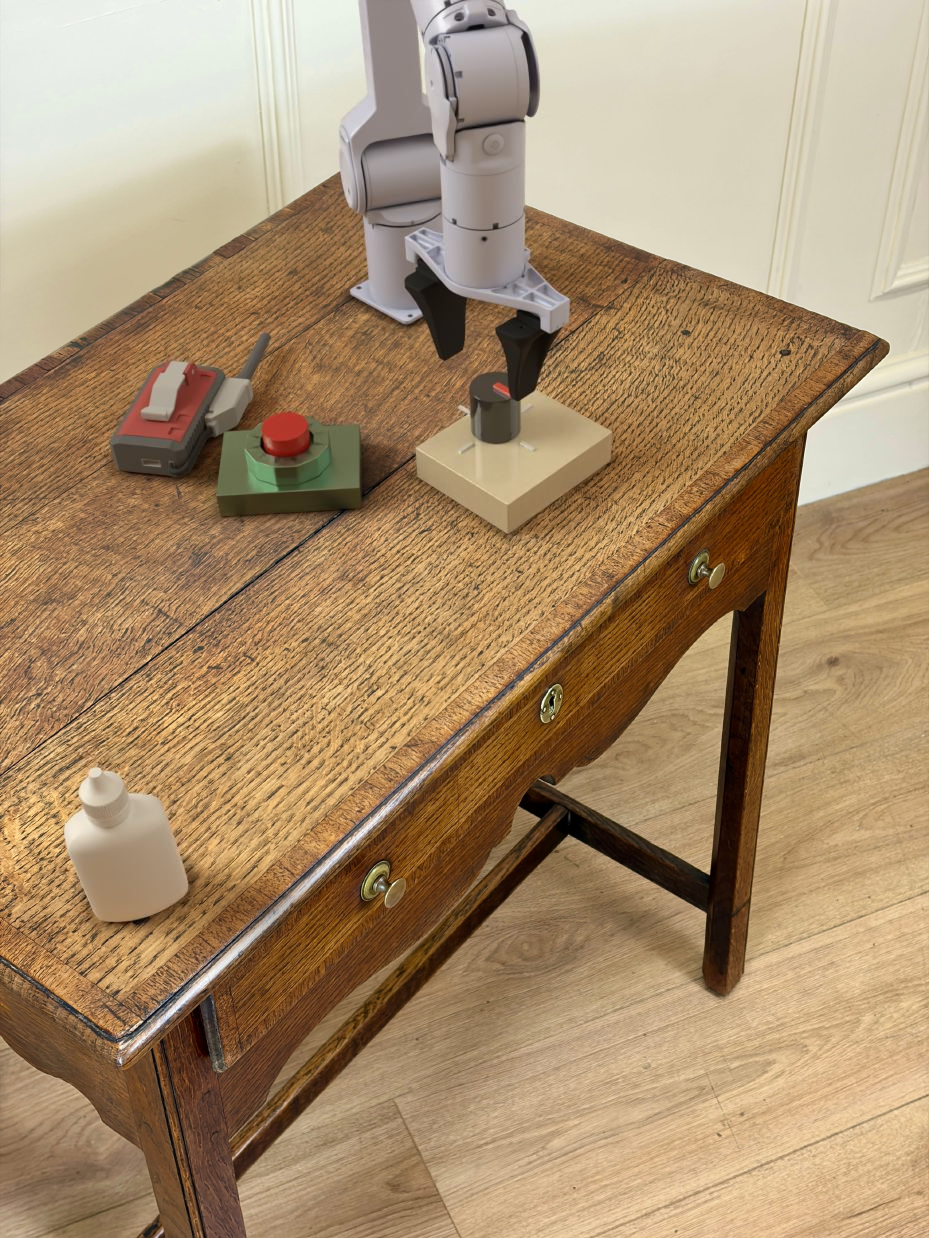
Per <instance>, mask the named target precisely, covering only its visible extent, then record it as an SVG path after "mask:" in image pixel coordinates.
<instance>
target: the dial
mask: <svg viewBox="0 0 929 1238" xmlns="http://www.w3.org/2000/svg"><path fill="white" fill-rule="evenodd" d="M468 391H469V392H468V393H469V394H468V395H469V410H470V426H471V432H472V434H473V435H474V436H475V437H476V438H477V439H479V440H480V441H483V442H486V443H493V444H498V443H505V442H508V441H510V440H512V439H514V438H515V437H517V436H518V434H519V433H520V431H521V400H520V401H515V400H513V399H512V398H511V397H510V393H509V389H508V374H507V372H503V371H488V372H483V373H481V374H479V375H477V376H475V377H474V378H473V379H472V380H471V381H470V383H469V387H468Z"/></svg>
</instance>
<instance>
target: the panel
mask: <svg viewBox="0 0 929 1238" xmlns="http://www.w3.org/2000/svg"><path fill="white" fill-rule="evenodd" d="M457 410H460V411H461V412H463V413H465V415H464V416H462V417H461V418H459V419H458V420H456V421H455V422H453V423H451V424H450V425H448V426H447V427H446V428H444V429H442V430H441V431H439V432H438V433H435V434H434V435H433V436H431V437H430V438H428V439H426V440H424V441H423V442H421V443H420V444H418V445H417V446H416V447H415V449H414V450H415V462H416V464H415V465H416V476H417V478H418V479H420V480H421V481H423V482H424V483H426V484H428V485H430V486H431V487H432V488H434V489H436V490H437V491H439V492H440V493H442V494H444V495H445V496H447V497H448V498H450V499H452V500H453V501H455V502H456V503H458V504H460V505H461V506H462V507H464V508H466V509H467V510H469V511H470V512H472V513H473V514H475V515H477V516H478V517H480V518H481V519H483V520H484V521H486V522H488V523H489V524H491V525H493V526H494V527H495V528H498V529H499V530H500V531H502V532H504V533H505V534H507V535H509V534H510V533H512V532H513V531H515V530H516V529H518V528H520V526H522V525H523V524H525V523H526V522H527V521H528V520H530V519H531V518H533V517H534V516H536V515H538V513H540V512H541V511H543V510H545V508H547V507H548V506H550V505H552V504H553V503H554V502H555V501H557V500H559V498H561V497H562V496H564V495H565V494H566V493H568V492H570V491H571V490H572V489H574V488H575V487H576V486H577V485H580V483H581V482H583V481H585V480H586V479H588V478H589V477H590V476H592V475H593V474H595V473H596V472H598V471H599V470H600V469H602V468H604V466H605V465H607V464H608V463H610V462H611V458H612V444H613V430H610V429H609V428H607V427H605V426H603V425H602V424H601V423H598V422H597V421H595V420H593V419H590V418H589V417H587V416H585V415H583V414H581V413H580V412H578V411H576V410H574V409H572V408H570V407H569V406H567V405H565V404H563V403H562V402H560V401H557V400H556V399H555V398H552V397H551V396H548V395H547V394H544V393H543V392H541V391H539V390H537V388H536V389H535V391H534V392H532V393H531V394H529V395H528V396H526V397H525V398H523V399H522V400H521V431H520V433H519V434H518V436H517V437H515V438H514V439H512V440H510V441H508V442H505V443H498V444H493V443H486V442H483V441H480V440H479V439H477V438H476V437H475V436H474V435H473V434H472V432H471V426H470V408H467V407H465V406H464V405H462V404H460V405H458V406H457Z"/></svg>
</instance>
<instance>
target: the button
mask: <svg viewBox="0 0 929 1238" xmlns="http://www.w3.org/2000/svg"><path fill="white" fill-rule="evenodd" d="M303 416H304V415H302V414H299V413H298V412H297V413H296V412H290V411H287V412H286V411H285V412H279V413H275V414H272V415H271V416H269V417H268V418H266V419H265V420H264V421H263V422H264V423H263V424H262V428H261V430H262V436H263V442H264V447H265V450H266V451H267V453H268V454H270V455H272V456H275V457H278V458H281V457H294V456H297V455H299V454H302V453H304V452H305V451H306V450H307V449H308V448H309V446H310V443H311V441H310V434H309V427H308V422H307V420H306V419H305V418H304V417H303Z"/></svg>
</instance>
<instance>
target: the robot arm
mask: <svg viewBox="0 0 929 1238" xmlns="http://www.w3.org/2000/svg"><path fill="white" fill-rule="evenodd" d="M357 3H358V13H359V23H360V32H361V33H360V34H361V43H362V52H363V54H362V55H363V62H364V70H365V71H364V72H365V73H364V74H365V81H366V82H365V83H366V92H367V93H366V94H365V96H363V98H362V99H361V100H360V101H358V103H356V105H354V106H353V107H352V109H350V110H349V111H348V112H347V113H346V114H345V115H344V116H343V117H342V118H341V119H340V120H339V127H338V137H339V138H338V139H339V148H338V149H339V150H338V164H339V172H340V178H341V183H342V188H343V193H344V196H345V199H346V203H347V205H348V207H349V208H350V209H351V210H352V211H353V212H354V213H356V214H357V215H362V221H363V232H364V243H365V254H366V265H367V275H368V279H366V280H364V281H362V282H361V283H359V284H357V285H356V286H353V287H351V288H350V290H349V294H350V296H352V297H354V298H356V299H358V300H359V301H361V302H363V303H365V304H367V305H368V306H370V307H372V308H374V309H376V310H377V311H379V312H381V313H383V314H385V315H386V316H389V317H390V318H392V319H393V320H396V321H397V322H399V323H401V324H403V325H410V324H412V323H414V322H415V321H417V320H419V319H421V318H422V317H423V318H424V320H425V323H426V325H427V329H428V330H429V333H430V336H431V339H432V342H433V345H434V347H435V351H436V353H437V356H438V358H439V359H440V360H442V361H444V362H446V361H448V360H450V359H451V358H453V357H455V356H456V355H458V354H459V353H461V352H463V351H464V347H465V342H466V323H467V322H466V319H467V317H466V315H467V314H466V311H467V302H468V299H472V300H477V301H481V302H486V303H490V304H495V305H499V306H503V307H508V308H511V309H515V310H516V313H515V314H516V316H512V317H511V318H509V319H507V320H506V321H504V322H502V323H501V324H499V325H498V326H496V327H495V329H494V333H495V335H496V336H497V338H498V340H499V342H500V345H501V347H502V350H503V354H504V358H505V363H506V369H507V371H506V373H507V374H508V389H509V393H510V397H511V398H512V399H513V400H515V401H520V400H522V399H523V398H525V397H526V396H528V395H529V394H531V393H532V392H534V391H535V389H536V390H537V384H538V381H539V378H540V374H541V371H542V368H543V366H544V363H545V360H546V358H547V355H548V353H549V351H550V349H551V348H552V345H553V344H554V342H555V340H556V339H557V337H558V335H559V334H560V332H561V331H562V329H563V328H564V326H565V325H568V324H569V323H570V311H571V310H570V309H571V308H570V307H571V299H570V298H569V297H567V296H566V295H563V294H562V293H561V292H559V291H558V290H556V289H555V288H554V287H553V286H552V285H551V283H549V281H548V280H547V279H545V278H544V277H543V276H542V275H541V273H540V272H538V271H537V269H535V268H534V266H533V265H532V264H531V263H529V260H530V259H531V249H530V248H529V247H527V246H525V245H526V146H527V145H526V142H527V141H526V139H527V138H526V135H527V134H526V133H527V132H526V130H527V129H526V128H527V125H526V123H527V122H526V119H525V118H526V117H528V118H534V117H535V116H536V114H537V112H538V110H539V105H540V99H541V76H540V75H541V73H540V65H539V59H538V54H537V49H536V45H535V42H534V38H533V35H532V32H531V30H530V28H529V26H528V25H527V23H526V22H525V21H524V20H522V19H520V18H519V16H518V13H517V11H516V10H515V9H508V8H507V7H506V4H505V1H504V0H357ZM419 34H420V37H421V41H422V43H423V47H424V50H425V52H424V57H423V58H424V59H423V62H424V63H423V66H424V67H423V69H424V70H423V73H424V82H425V83H424V84H425V85H424V86H425V89H426V90H425V92H426V93H425V92H423V81H422V68H421V67H422V65H421V53H420V41H419Z"/></svg>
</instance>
